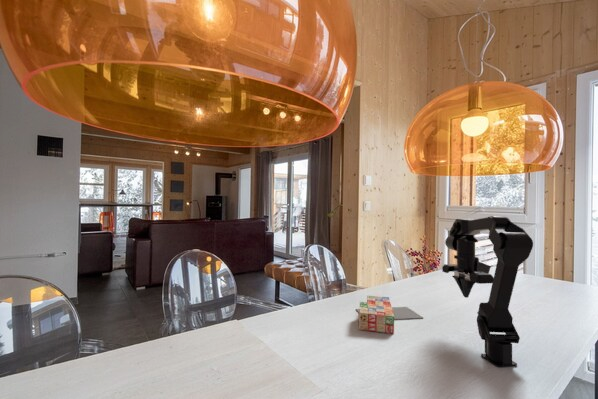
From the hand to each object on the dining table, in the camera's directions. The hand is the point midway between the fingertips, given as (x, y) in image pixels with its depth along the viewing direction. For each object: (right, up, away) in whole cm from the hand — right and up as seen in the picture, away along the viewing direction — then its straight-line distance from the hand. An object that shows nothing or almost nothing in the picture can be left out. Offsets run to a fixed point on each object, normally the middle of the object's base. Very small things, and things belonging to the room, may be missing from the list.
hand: (466, 297), depth 105 cm
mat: (-22, -13, +18) cm, 32 cm away
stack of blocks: (-24, -10, +9) cm, 27 cm away
